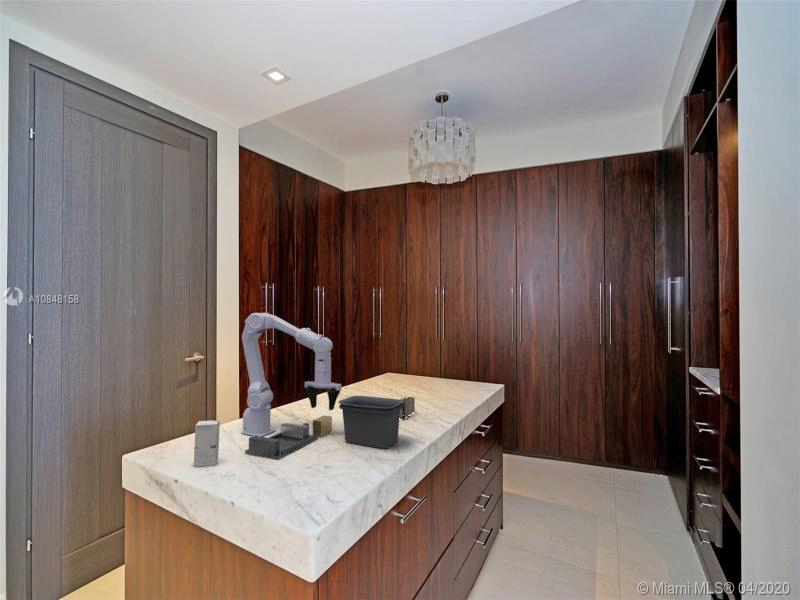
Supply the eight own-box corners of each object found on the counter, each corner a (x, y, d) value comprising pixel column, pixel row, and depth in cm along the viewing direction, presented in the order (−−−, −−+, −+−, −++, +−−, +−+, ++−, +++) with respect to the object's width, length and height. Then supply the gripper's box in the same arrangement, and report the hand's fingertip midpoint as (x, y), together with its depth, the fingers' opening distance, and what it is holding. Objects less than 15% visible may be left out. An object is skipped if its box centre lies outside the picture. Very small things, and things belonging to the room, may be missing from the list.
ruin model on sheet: (403, 421, 165) (403, 398, 165) (396, 420, 166) (396, 397, 167) (415, 415, 175) (415, 392, 175) (409, 414, 176) (409, 392, 177)
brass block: (312, 437, 144) (312, 420, 144) (323, 431, 150) (323, 415, 150) (320, 438, 142) (321, 421, 142) (331, 432, 149) (331, 416, 149)
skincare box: (193, 467, 116) (193, 425, 116) (197, 461, 120) (197, 420, 120) (216, 465, 117) (216, 423, 117) (219, 459, 122) (220, 419, 122)
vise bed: (244, 453, 127) (245, 437, 127) (287, 434, 146) (287, 420, 146) (278, 460, 122) (278, 442, 122) (317, 439, 141) (318, 424, 141)
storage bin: (333, 444, 136) (334, 401, 137) (357, 431, 150) (357, 393, 151) (389, 454, 127) (390, 408, 128) (409, 439, 142) (409, 398, 142)
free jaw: (280, 436, 140) (280, 424, 140) (295, 429, 148) (295, 418, 148) (304, 440, 136) (304, 428, 136) (318, 433, 144) (318, 422, 144)
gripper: (345, 370, 148) (345, 408, 147) (312, 368, 153) (312, 404, 153) (335, 373, 141) (335, 412, 141) (301, 371, 147) (300, 408, 146)
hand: (322, 408), depth 146 cm, fingers open, 7 cm apart
